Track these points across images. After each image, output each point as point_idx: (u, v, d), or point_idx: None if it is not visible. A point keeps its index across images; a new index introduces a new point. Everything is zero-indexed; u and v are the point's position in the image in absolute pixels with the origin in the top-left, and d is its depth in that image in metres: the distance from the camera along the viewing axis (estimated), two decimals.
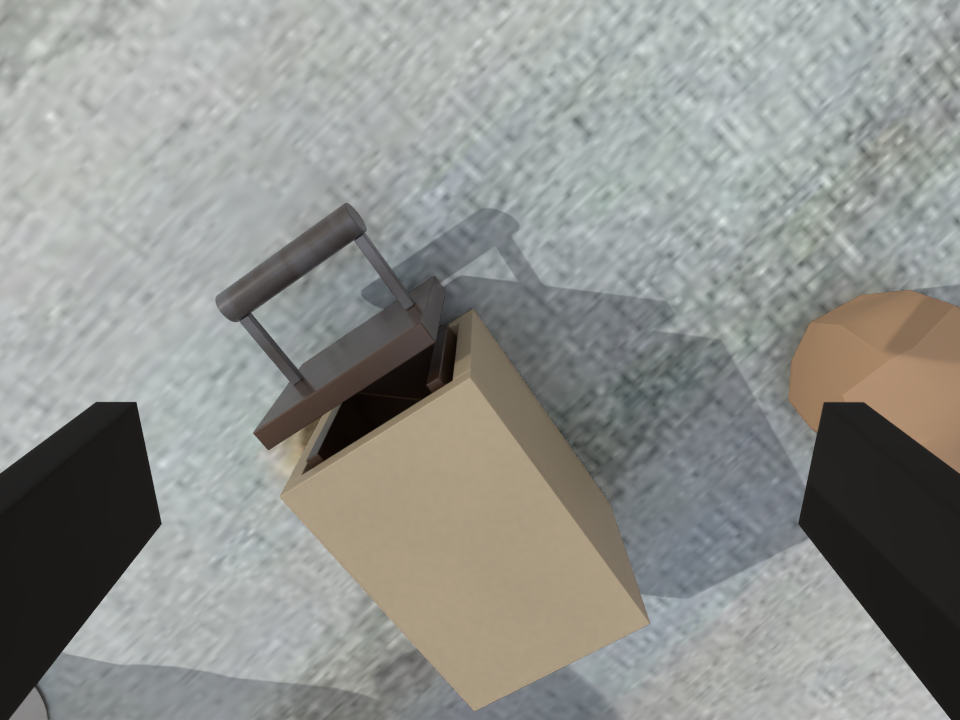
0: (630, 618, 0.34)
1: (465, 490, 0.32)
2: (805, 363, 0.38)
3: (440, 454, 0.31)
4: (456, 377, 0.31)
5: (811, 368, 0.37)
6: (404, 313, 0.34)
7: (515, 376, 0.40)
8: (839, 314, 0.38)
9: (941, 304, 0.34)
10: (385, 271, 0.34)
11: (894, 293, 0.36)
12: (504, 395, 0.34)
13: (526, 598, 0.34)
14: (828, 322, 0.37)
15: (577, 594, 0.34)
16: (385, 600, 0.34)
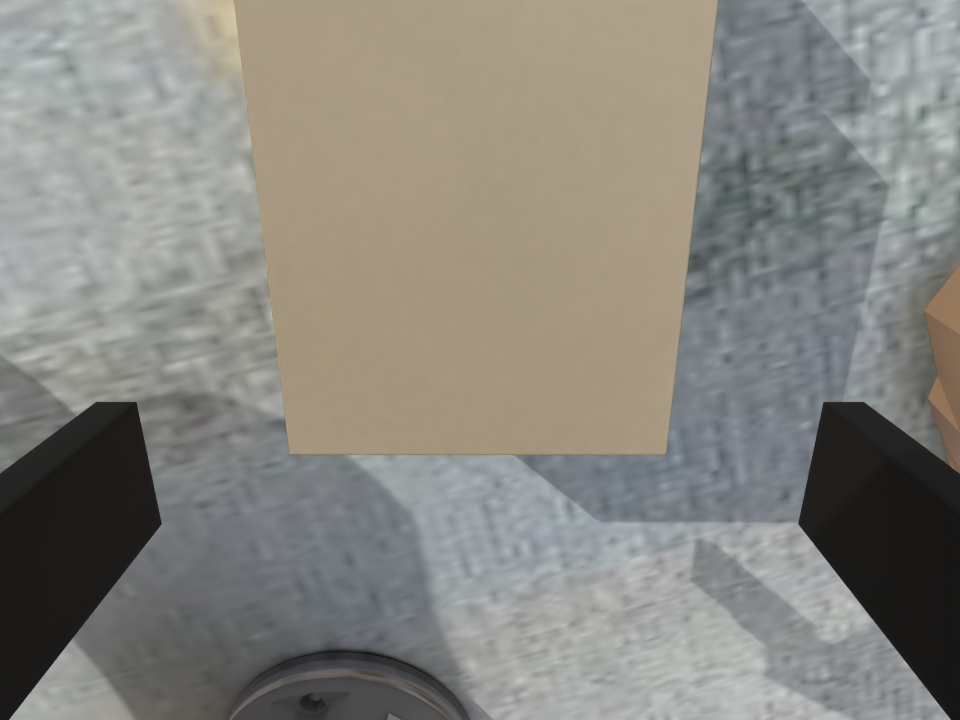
0: (645, 427, 0.19)
1: None
2: None
3: None
4: None
5: None
6: None
7: None
8: None
9: None
10: None
11: None
12: None
13: (516, 290, 0.18)
14: None
15: (600, 334, 0.18)
16: (271, 133, 0.16)
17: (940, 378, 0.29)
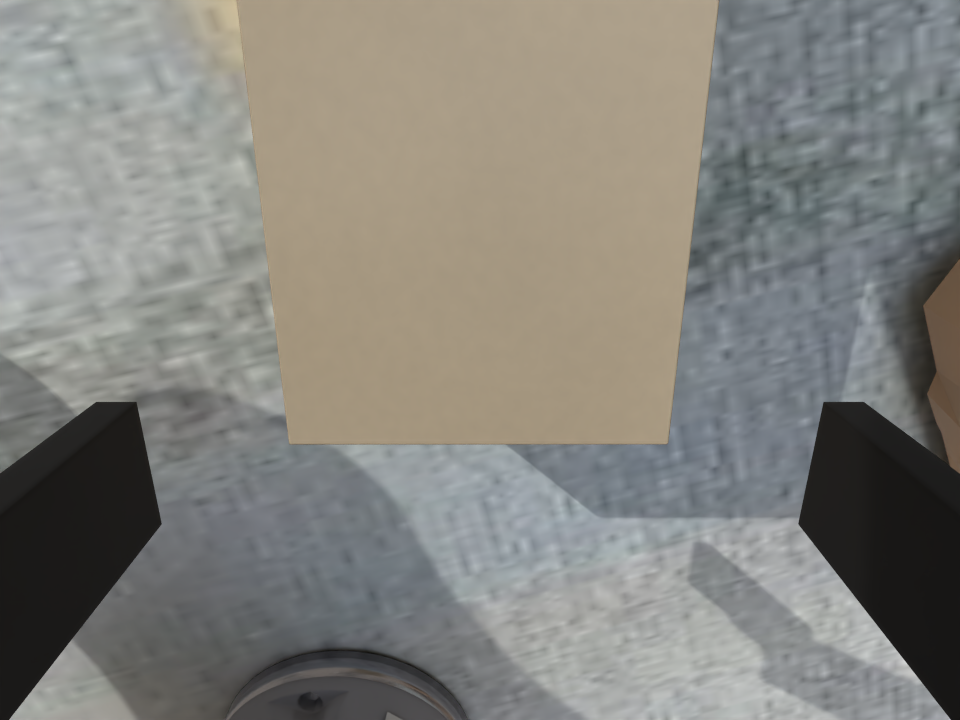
0: (647, 416, 0.19)
1: None
2: None
3: None
4: None
5: None
6: None
7: None
8: None
9: None
10: None
11: None
12: None
13: (518, 277, 0.18)
14: None
15: (601, 322, 0.18)
16: (271, 118, 0.16)
17: (939, 374, 0.29)
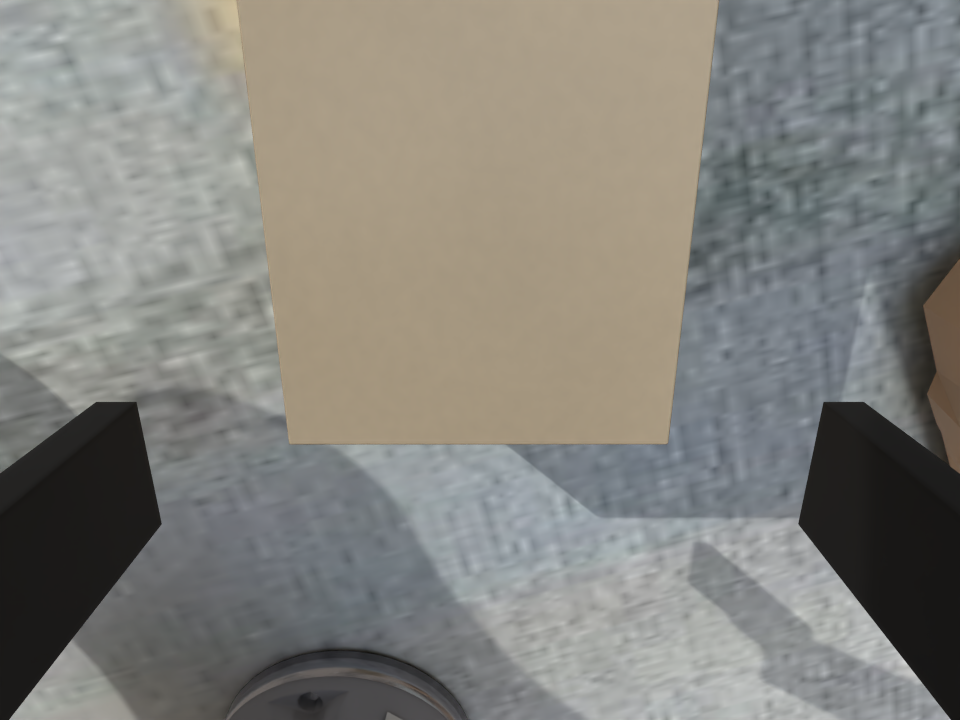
0: (647, 416, 0.19)
1: None
2: None
3: None
4: None
5: None
6: None
7: None
8: None
9: None
10: None
11: None
12: None
13: (518, 277, 0.18)
14: None
15: (601, 322, 0.18)
16: (271, 118, 0.16)
17: (939, 374, 0.29)
